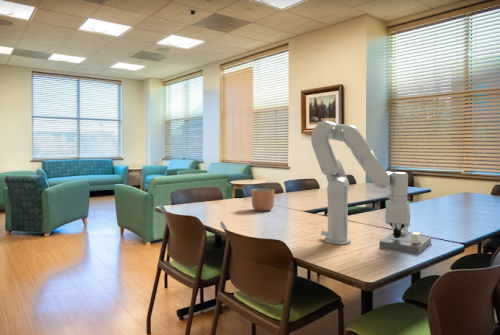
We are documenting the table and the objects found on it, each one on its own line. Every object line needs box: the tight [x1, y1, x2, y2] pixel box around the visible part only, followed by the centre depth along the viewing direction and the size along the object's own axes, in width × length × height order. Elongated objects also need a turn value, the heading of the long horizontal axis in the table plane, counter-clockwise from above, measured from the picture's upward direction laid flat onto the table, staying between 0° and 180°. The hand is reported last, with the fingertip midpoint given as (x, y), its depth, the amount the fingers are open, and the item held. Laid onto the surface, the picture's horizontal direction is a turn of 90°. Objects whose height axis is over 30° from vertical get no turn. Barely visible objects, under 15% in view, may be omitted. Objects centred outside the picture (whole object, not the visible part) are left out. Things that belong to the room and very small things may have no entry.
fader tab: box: [410, 231, 422, 244], centre depth 162 cm, size 3×5×4 cm, turn 141°
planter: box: [250, 188, 275, 212], centre depth 265 cm, size 17×17×15 cm
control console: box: [379, 231, 432, 255], centre depth 169 cm, size 17×22×5 cm
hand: (397, 237), depth 168 cm, fingers closed
